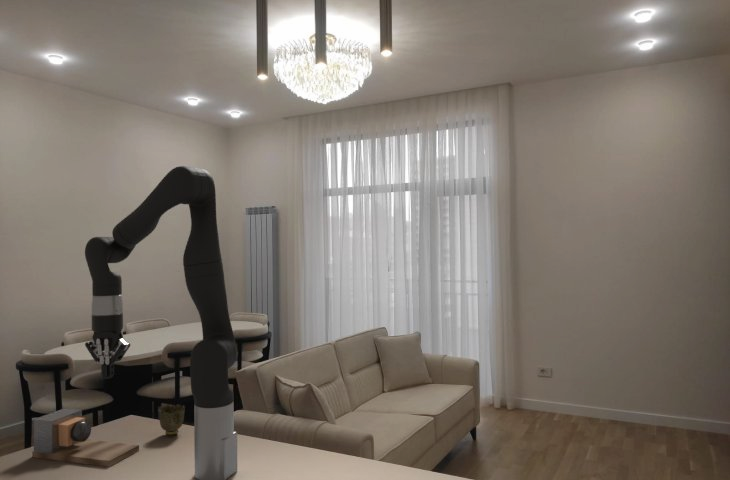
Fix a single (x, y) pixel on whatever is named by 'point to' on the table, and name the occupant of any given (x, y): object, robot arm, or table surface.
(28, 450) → the table surface
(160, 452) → the table surface
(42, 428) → the block
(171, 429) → the cup
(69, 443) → the spacer
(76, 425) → the shaft
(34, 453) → the baseboard
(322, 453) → the table surface
